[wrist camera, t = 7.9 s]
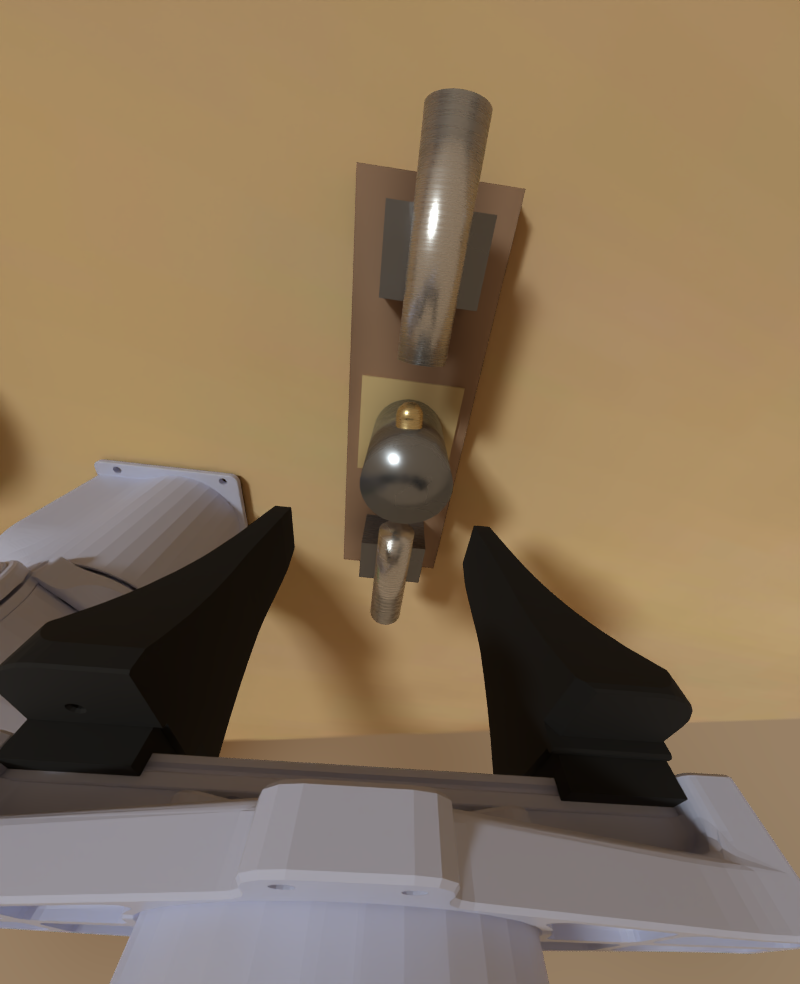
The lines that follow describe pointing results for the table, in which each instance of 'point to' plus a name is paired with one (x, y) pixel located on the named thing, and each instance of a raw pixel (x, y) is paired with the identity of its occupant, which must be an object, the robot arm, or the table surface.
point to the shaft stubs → (430, 292)
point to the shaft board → (379, 330)
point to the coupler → (406, 464)
